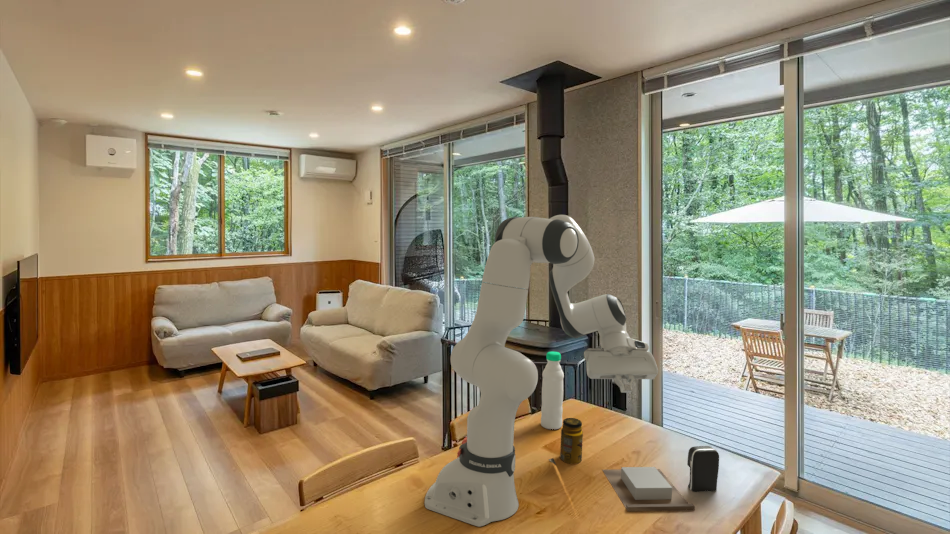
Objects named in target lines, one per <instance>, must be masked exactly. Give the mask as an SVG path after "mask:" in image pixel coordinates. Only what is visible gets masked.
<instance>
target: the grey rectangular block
mask: <svg viewBox="0 0 950 534" xmlns="http://www.w3.org/2000/svg"><path fill="white" fill-rule="evenodd" d="M620 469H621V479H622V481H623V482H624V484H625V485H626V487H627V488H628V490H629V491H630V493H631V494H632V496H633V497H634V498H635V500H663V499H672V487H671V486H670V484H669V483H668V482H667V481H666V480H665V478H664V477H663V476H662V475H661V474H660V472H659V471H658V470H657V469H658V468H656V467H655V466H627V467H626V466H623V467H622V466H621V468H620Z"/></svg>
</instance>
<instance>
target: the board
mask: <svg viewBox="0 0 950 534" xmlns="http://www.w3.org/2000/svg"><path fill="white" fill-rule="evenodd" d="M656 469H657V470H658V471H659V472H660V474H661V475H662V476H663V477H664V478H665V480H666V481H667V482H668V483H669V484H670V486H671V487H672V499H663V500H635V498H634V497H633V496H632V494H631V493H630V491H629V490H628V488H627V487H626V485H625V484H624V482H623V481H622V479H621V468H620V469H618V468H617V469H602V472H603V474H604V475H605V478H607V480H608V482H609V483H610V485H611V486H612V488H613V489H614V491H615V493H616V495H617V496H618V498H619V499H620V501H621V504H623V506H624V507H625V510H626V511H627V512H670V511H672V512H675V511H679V512H680V511H682V512H683V511H685V512H686V511H688V512H689V511H695V509H696V506H695V505H694V504H693V503H689V502H688V501H687V500H686V499H685V497H684V496H683V495H682V493H680V491H679V489H677V488H676V487H675V485H673V483H672V482H671V481H670V480H669V479H668V477H667V476H666V475H665V474H664V472H663V471H662V470H661V469H660V468H656Z"/></svg>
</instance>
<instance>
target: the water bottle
mask: <svg viewBox="0 0 950 534" xmlns="http://www.w3.org/2000/svg"><path fill="white" fill-rule="evenodd" d="M545 356H546V361H547V363H546V365H545V366H544V367H545V368H543V371H542V372H541V373H542V374H541V375H542V382H541V409H540V412H541V417H540V425H541V427H543V428H545V429H547V430H551V429H552V431H553V429H554V430H559V429H560V428H561V429H562V428H563V412H564V411H563V410H564V409H563V402H564V401H563V400H564V378H565V375H564V374H565V373H564V371H563V369H562V365H561V364H560V363H561V359H562V355H561V353H560V352H559V351H547V352H546V355H545Z"/></svg>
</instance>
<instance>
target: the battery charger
mask: <svg viewBox="0 0 950 534" xmlns="http://www.w3.org/2000/svg"><path fill="white" fill-rule="evenodd" d="M719 465H720V455H719V452H718V451H717V450H716V449H714V448H713V447H712V446H709V445H700V446H691V447H690V448H689V449H688V453H687V466H688V467H689V483H688V488H689V490H690V491H691V492H692V493H700V492H703V493H705V492H717V490H718V488H717V487H718V477H719V471H720V470H719V469H720V468H719V467H720V466H719Z"/></svg>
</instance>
